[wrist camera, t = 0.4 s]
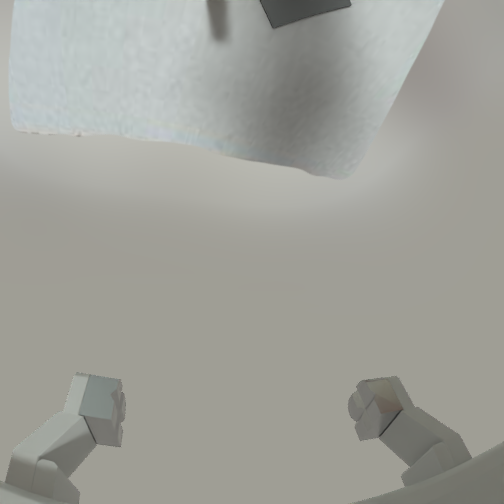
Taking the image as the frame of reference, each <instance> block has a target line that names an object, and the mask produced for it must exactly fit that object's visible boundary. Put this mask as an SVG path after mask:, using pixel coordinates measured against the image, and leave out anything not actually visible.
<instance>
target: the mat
mask: <svg viewBox="0 0 504 504" xmlns="http://www.w3.org/2000/svg"><path fill="white" fill-rule="evenodd" d="M260 1H261V3H262V5H263V7H264V9H265V12H266V14H267V16H268V18H269V20H270V23H271V25H272V27H273V28H275V27H278V26H281V25H284V24H287V23H290V22H293V21H296V20H299V19H302V18H306V17H309V16H312V15H316V14H319V13H323V12H327V11H330V10H334V9H338V8H342V7H346V6H351V2H350V0H260Z"/></svg>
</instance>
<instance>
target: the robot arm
mask: <svg viewBox="0 0 504 504" xmlns="http://www.w3.org/2000/svg"><path fill="white" fill-rule="evenodd" d="M356 387H357V389H358V390H357V391H356V392H354V393H353V394H352V395H351V397H350V399H349V403H348V409H349V413H350V416H351V418H352V419H354V420H355V421H356V424H355V429H356V432H357V434H358V437H359V439H360V441H362V440H368V439H373V438H379V437H380V438H379V439H380V440H381V441H382V442H383V443H384V444H385V445H386V446H388V447H389V448H390V449H391V450H392V451H393V452H394V453H395V454H396V455H397V456H398V457H400V458H401V459H402V460H403V461H404V462H405V463H406V464H407V465H408V466H410V468H408V469H407V470H406V471H405V472H404V473H403V474H402V476H401V478H402V480H403V483H404V486H405V487H404V488H401V489H399V490H396V491H392V492H389V493H386V494H383V495H380V496H377V497H373V498H369V499H366V500H362V501H358V502H354V503H350V504H504V442H502V443H500V444H498V445H497V446H495V447H493V448H491V449H489V450H488V451H486V452H484V453H482V454H480V455H478V456H476V457H474V458H472V457H471V455H470V453H469V451H468V450H467V448H466V446H465V444H464V442H463V440H462V438H461V436H460V435H459V434H458V433H456V432H455V431H453V430H452V429H450V428H449V427H447V426H445V425H444V424H443V423H441V422H440V421H438V420H437V419H435V418H434V417H432V416H431V415H429V414H428V413H426V412H425V411H423V410H422V409H420V408H419V407H415V406H414V405H413V403H412V401H411V399H410V397H409V396H408V394H407V392H406V390H405V388H404V386H403V385H402V383H401V381H400V379H399V378H398V377H397V376H392V377H385V378H376V379H368V380H362V381H360V382H359V383H358V385H357V386H356ZM121 391H122V382H121V380H120V379H114V378H108V377H101V376H96V375H90V374H84V373H78V372H77V373H76V374H75V375H74V377H73V380H72V383H71V387H70V390H69V394H68V397H67V400H66V403H65V407H64V410H63V412H61V411H59V412H58V413H56V414H55V415H54V416H53V417H52V418H50V419H49V420H48V421H47V422H45V423H44V424H43V425H42V426H41V427H40V428H38V429H37V430H36V431H35V432H33V433H32V434H31V435H30V436H29V437H27V438H26V439H25V440H24V441H22V442H21V443H20V444H19V445H18V446H17V447H15V448H14V450H13V454H12V457H11V461H10V464H9V468H8V472H7V476H6V481H5V482H2V481H0V504H79V496H80V492H79V491H78V489H77V488H76V487H75V486H74V485H73V484H72V483H71V481H70V480H69V479H68V477H69V476H70V475H71V474H72V473H73V472H74V471H75V470H76V468H77V467H78V466H79V465H80V464H81V463H82V462H83V460H84V459H85V458H86V457H87V456H88V455H89V453H90V452H91V451H92V450H93V449H94V448H95V447H96V444H100V445H108V446H115V447H121V441H122V433H123V430H122V426H121V422H122V421H123V420H124V419H125V406H126V403H125V396H124V393H123V392H121Z"/></svg>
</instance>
